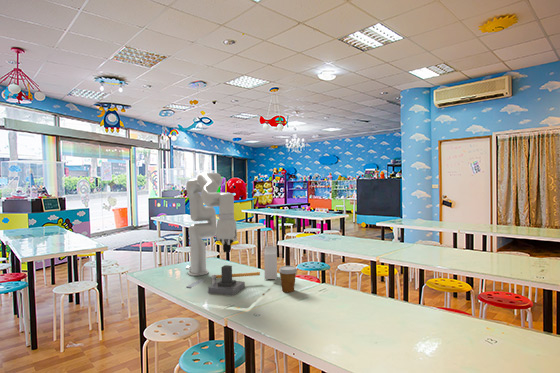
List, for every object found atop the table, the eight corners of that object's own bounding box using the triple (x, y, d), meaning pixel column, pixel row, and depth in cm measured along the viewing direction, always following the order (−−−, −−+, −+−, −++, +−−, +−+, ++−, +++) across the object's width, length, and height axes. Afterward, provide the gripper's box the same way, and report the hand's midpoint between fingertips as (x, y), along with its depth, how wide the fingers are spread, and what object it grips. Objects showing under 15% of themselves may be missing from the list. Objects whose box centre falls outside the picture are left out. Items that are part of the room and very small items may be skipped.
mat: (186, 287, 177) (186, 286, 177) (200, 280, 190) (200, 279, 190) (209, 289, 173) (209, 288, 173) (221, 282, 186) (221, 281, 186)
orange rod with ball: (211, 279, 172) (211, 276, 172) (211, 277, 175) (211, 275, 175) (260, 275, 178) (260, 272, 178) (259, 274, 181) (259, 271, 181)
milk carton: (276, 279, 190) (276, 247, 189) (264, 279, 190) (264, 247, 190) (277, 276, 197) (276, 245, 197) (265, 276, 197) (265, 245, 197)
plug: (217, 291, 166) (217, 267, 166) (224, 287, 173) (223, 264, 173) (230, 292, 164) (229, 268, 164) (235, 288, 171) (235, 265, 171)
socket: (203, 294, 165) (202, 284, 165) (216, 286, 178) (216, 276, 178) (233, 298, 160) (233, 286, 160) (244, 289, 173) (244, 278, 173)
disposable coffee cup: (297, 287, 175) (297, 265, 174) (296, 293, 165) (296, 270, 165) (280, 287, 175) (279, 265, 175) (278, 293, 166) (277, 270, 166)
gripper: (209, 217, 167) (210, 252, 167) (237, 217, 163) (237, 254, 163) (216, 215, 174) (217, 249, 174) (243, 216, 170) (243, 251, 170)
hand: (227, 251), depth 169 cm, fingers closed
